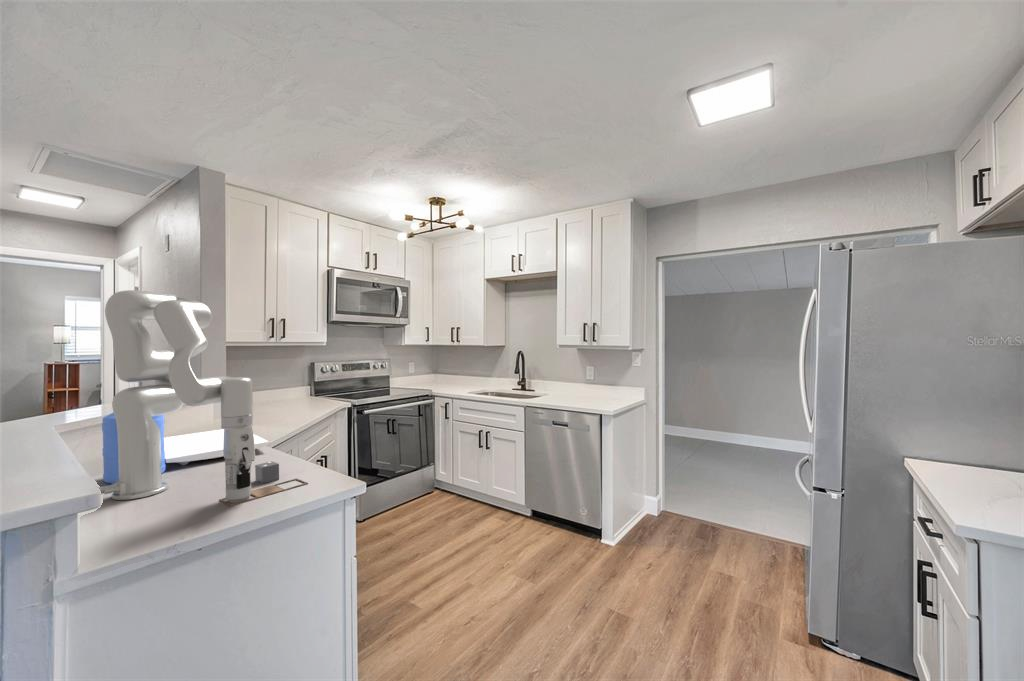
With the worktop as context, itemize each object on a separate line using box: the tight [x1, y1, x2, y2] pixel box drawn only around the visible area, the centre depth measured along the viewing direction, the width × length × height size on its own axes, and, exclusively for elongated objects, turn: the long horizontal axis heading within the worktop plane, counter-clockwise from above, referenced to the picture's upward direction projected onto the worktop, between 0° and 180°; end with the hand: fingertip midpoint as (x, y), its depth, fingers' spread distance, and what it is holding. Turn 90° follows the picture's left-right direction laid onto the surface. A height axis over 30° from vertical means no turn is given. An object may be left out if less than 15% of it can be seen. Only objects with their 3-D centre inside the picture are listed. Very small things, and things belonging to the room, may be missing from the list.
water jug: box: [101, 411, 167, 484], centre depth 141 cm, size 16×16×28 cm
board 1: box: [164, 429, 270, 466], centre depth 173 cm, size 45×32×5 cm
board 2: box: [218, 478, 309, 507], centre depth 124 cm, size 21×7×1 cm, turn 143°
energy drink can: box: [224, 450, 252, 504], centre depth 119 cm, size 6×6×15 cm
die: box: [254, 461, 280, 484], centre depth 135 cm, size 5×5×5 cm
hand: (238, 484), depth 119 cm, fingers closed on energy drink can, 6 cm apart
